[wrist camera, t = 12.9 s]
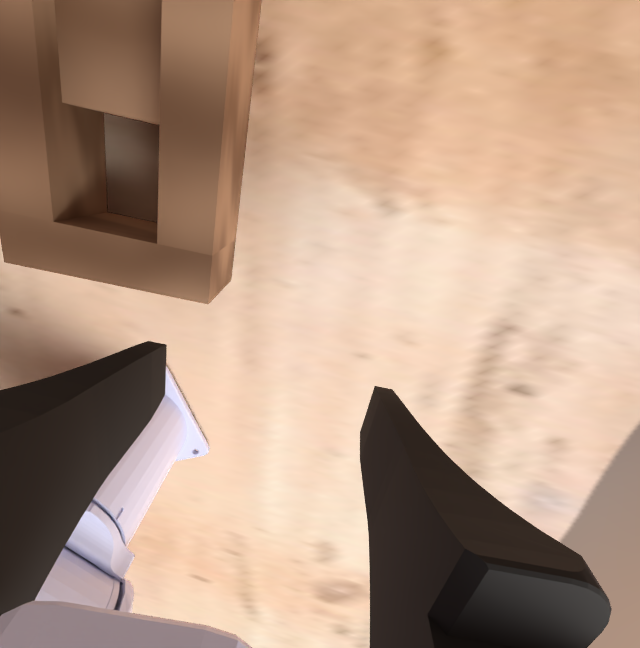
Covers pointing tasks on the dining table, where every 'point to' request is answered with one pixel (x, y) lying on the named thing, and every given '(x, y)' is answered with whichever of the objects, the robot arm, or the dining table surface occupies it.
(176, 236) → the walnut frame
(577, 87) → the dining table surface
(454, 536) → the robot arm
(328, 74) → the dining table surface
